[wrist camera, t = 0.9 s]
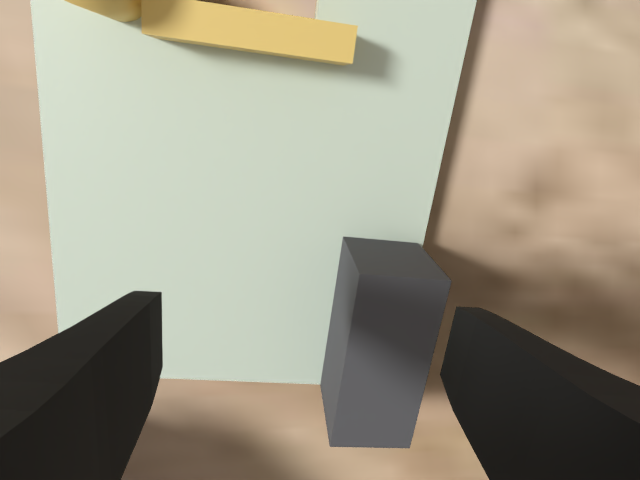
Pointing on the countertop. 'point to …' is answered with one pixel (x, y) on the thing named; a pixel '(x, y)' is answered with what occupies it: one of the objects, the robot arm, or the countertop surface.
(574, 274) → the countertop surface
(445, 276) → the tall gray prism
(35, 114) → the countertop surface
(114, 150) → the pale green u-shaped slab
